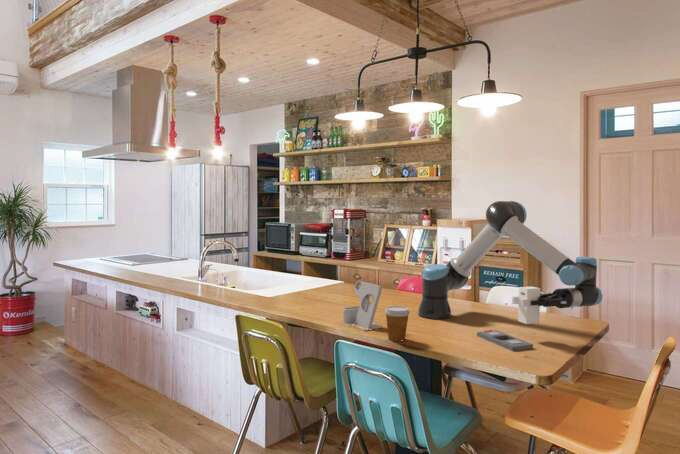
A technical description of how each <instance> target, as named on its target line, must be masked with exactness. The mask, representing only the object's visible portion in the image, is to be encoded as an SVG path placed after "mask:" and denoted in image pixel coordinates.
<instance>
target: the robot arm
mask: <svg viewBox="0 0 680 454" xmlns="http://www.w3.org/2000/svg"><path fill="white" fill-rule="evenodd" d="M485 219H486V222H487V224H486V225H485V226H484V227H483V228H482V230H480V232H479V233H478V234H476V236H475V237H474V238H473V239H472V240H471V242H470V243H468V245H467V246H466V247H465V248H464V250H463V251H462V252H461V253H460V254H459V255H458V256H457V257H454V258H451V259H450V261H448V262H447V264H441V263H436V264H427V265H426V266H424V267H423V270H422V275H421V276H422V277H421V278H422V287H421V289H422V294H421V295H422V297H421V301H420V304H419V307H418V309H417V314H418V316H420V317H422V318H425V319H430V320H431V319H433V320H444V319H449V318H451V317H452V310H451V306H450V304H449V299H448V297H449V296H448V294H449V292H450V291H453V290H458V289H462V288H463V287H465V285H467V283H468V282H469V277H470V276H471V274H472V270H473V268H474V267H475V266H476V265H477V264H478V263H479V262H480V261H481V260H482V259H483V258H484V257H485V256H486V254H488V252H489V251H490V250H491V249H492V248H493V247H494V246H495V245H496V244H497V243H498V242H499V241H500V239H502V238H503V237H509V238H510V239H511V240H512V241H513V242H515V243H516V244H517V245H519V246H520V247H521V248H522V249H524V250H525V251H527V252H528V253H529V254H530V255H531V256H533V257H534V258H536V259H537V260H538V261H539V262H541V263H542V264H543V265H544V266H546V267H547V268H548V269H550V270H551V271H552V272H554V273H555V274H556V275H557V276H558V277H559V280H560V282H561V283H562V284H563V285H566V286H569V287H565V288H557V289H556V288H555V290H553V292H548V293H543V292H540V297H538V300H537V298H533V299H522V307H530V306H537V305H538V306H540V307H543V308H546V307H547V308H548V307H556V308H558V309H567V308H569V309H571V310H573V309H574V308H578V307H579V308H580V307H592V306H596V305H599V304H600V303H601V302H602V300H603V293H602V291H601V289H600V288H599V287H598V286H597V270H598V264H597V263H598V262H597V259H596V258H595V257H593V256H592V257H591V256H578V257H576V258H575V261H573V260H572V259H571V258H570V257H568V256H567V255H566V254H564V253H563V252H562V251H560V250H558V249H557V248H556V247H554V246H553V245H552V244H551V243H550V242H548V241H547V240H545V239H544V238H542V237H541V236H540V235H538V234H537V233H536V232H534V231H533V230H532V229H530V228H529V227H528V226H526V225H525V224H524V223H526V221H527V211H526V208H525V206H524V205H523V204H522V203H519V202H518V201H514V200H510V201H509V200H505V201H504V200H498V201H494V202H492V203H490V205H489V206H488V207H487V209H486V211H485ZM570 286H572V287H570ZM573 286H574V287H573ZM511 303H512V305H518V303H519V295H517V296H512V297H511Z"/></svg>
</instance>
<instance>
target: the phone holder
mask: <svg viewBox="0 0 680 454" xmlns="http://www.w3.org/2000/svg"><path fill="white" fill-rule="evenodd" d="M359 286H360V287H359ZM353 290H354V292H355V293H356V296H357V298H358V300H359V306H358V305H357V306H356V305H355V306H349V307H344V308H342V310H343V311H342V312H343V313H342V321H341V323H342V322H343V323H346V324H349V325H352V324H355V325H358V326H361V327H364V328H367V329H363V328H361V327H358V326H355V325H352V326H355V327H357V328H360V329H363V330H370V329H376V330H378V329H377V328H381V329H383V325H381V324H378V323H375V322H374V319H375V315H376V312H377V309H378V305H379V301H380V298H381V294H382V290H383V289H382V286H381V285H378V284H376V283H370V282H367V281H362V280H357V281H356V282H355V285H354V288H353ZM371 297H372V300H371V302H370V298H371ZM343 323H342V324H343ZM346 324H345V325H346ZM357 328H356V329H357ZM360 329H359V330H360ZM363 330H362V331H363ZM370 331H371V330H370Z"/></svg>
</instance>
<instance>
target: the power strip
mask: <svg viewBox="0 0 680 454" xmlns="http://www.w3.org/2000/svg"><path fill="white" fill-rule="evenodd" d="M476 337H478V338H481V339H483V340H485V341H488V342H490V343H492V344H494V345H497V346H499V347H502V348H504V349H506V350H509V351H511V352H515V351H523V350H532V349H533V348H534V344H533V343H531V342H528V341H525V340H523V339H520V338H517V337H516V336H512V335H510V334H507V333H505V332H504V331H503V332H502V331H500V330H497V329H495V330H492V329H490V328H488V329H484V331H483V330H482V331H476Z"/></svg>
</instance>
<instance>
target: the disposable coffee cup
mask: <svg viewBox="0 0 680 454" xmlns="http://www.w3.org/2000/svg"><path fill="white" fill-rule="evenodd" d="M410 312H411V311H410V309H409V308H408V307H406V306H399V305H394V306H393V305H392V306H386V308H385V310H384V313H385V317H386V328H387V335H388V336H387V337H388V340H389V341H392V342H397V341H400V342H402V341H401V340H404V339H405V340H406V334H407V328H408V327H407V326H408V321H409V315H410ZM405 340H404V341H405Z"/></svg>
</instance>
